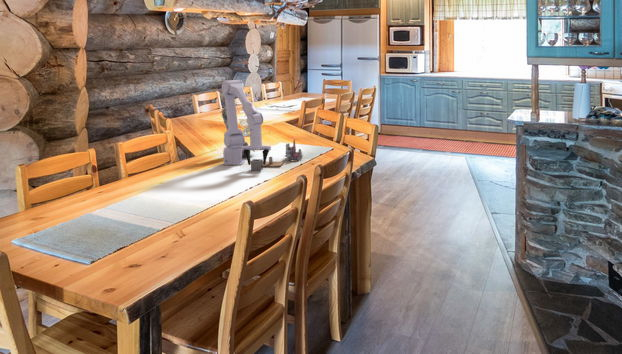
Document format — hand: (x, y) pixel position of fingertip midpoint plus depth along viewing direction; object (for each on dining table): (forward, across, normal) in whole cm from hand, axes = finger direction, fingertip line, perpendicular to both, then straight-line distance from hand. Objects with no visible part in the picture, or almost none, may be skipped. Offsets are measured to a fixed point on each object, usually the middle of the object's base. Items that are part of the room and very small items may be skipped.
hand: (256, 164), depth 286 cm
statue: (+3, -18, +35) cm, 40 cm away
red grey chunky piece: (+3, +14, +27) cm, 31 cm away
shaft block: (+3, +5, +11) cm, 12 cm away
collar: (+3, 0, 0) cm, 3 cm away
